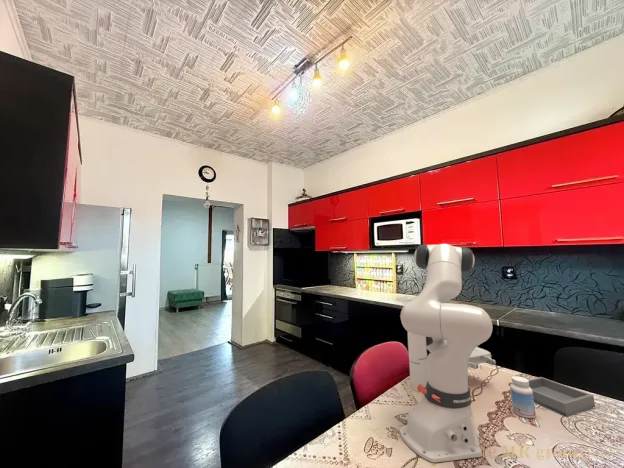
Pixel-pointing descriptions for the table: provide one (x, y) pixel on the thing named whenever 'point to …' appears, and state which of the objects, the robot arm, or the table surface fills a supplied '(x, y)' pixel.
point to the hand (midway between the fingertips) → (485, 364)
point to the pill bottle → (522, 397)
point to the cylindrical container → (417, 360)
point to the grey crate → (560, 397)
